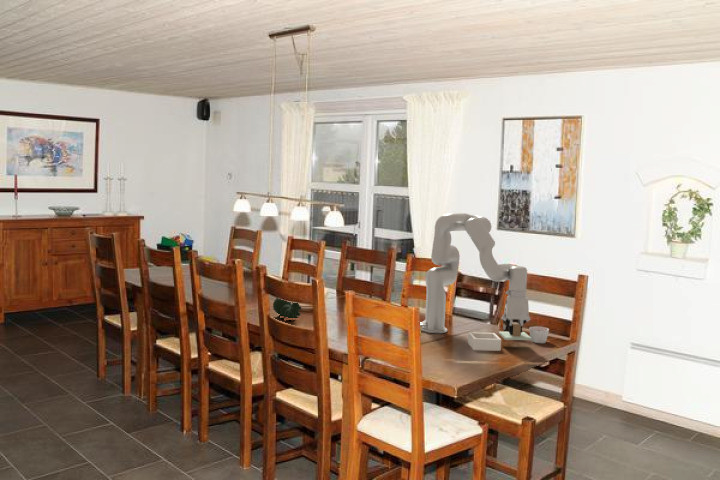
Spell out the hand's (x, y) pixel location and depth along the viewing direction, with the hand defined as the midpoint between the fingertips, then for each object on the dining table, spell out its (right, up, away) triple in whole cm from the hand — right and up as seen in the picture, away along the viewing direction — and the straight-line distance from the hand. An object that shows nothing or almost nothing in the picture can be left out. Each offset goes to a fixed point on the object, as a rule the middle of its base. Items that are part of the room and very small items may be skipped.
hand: (515, 333), depth 307 cm
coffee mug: (+3, -5, +25) cm, 26 cm away
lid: (0, -1, 0) cm, 1 cm away
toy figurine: (-108, +1, +44) cm, 116 cm away
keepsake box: (-14, -7, -1) cm, 16 cm away
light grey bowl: (+15, -6, +17) cm, 23 cm away
